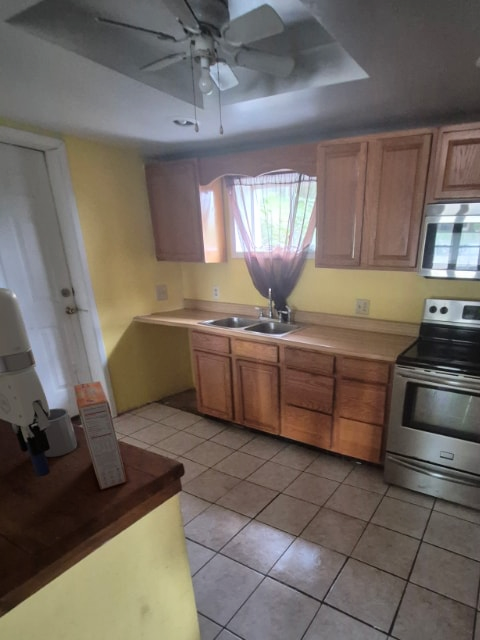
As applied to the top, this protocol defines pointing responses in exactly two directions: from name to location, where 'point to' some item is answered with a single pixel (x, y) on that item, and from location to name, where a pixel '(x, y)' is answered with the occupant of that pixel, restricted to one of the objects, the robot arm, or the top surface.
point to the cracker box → (100, 434)
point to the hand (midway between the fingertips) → (35, 449)
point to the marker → (37, 458)
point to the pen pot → (60, 433)
